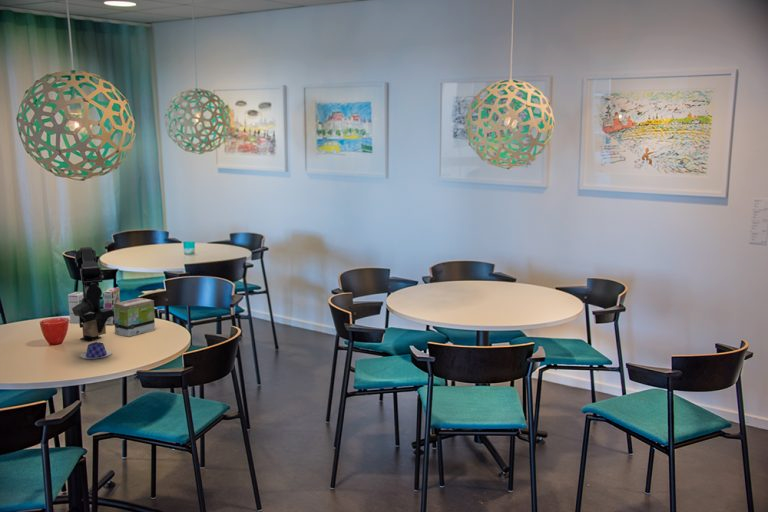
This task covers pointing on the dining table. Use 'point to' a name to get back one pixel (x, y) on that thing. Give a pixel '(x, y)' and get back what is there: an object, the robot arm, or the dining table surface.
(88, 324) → the walnut block
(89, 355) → the pudding
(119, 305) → the tea box
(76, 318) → the syrup box
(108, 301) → the candy bar box
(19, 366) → the dining table surface
